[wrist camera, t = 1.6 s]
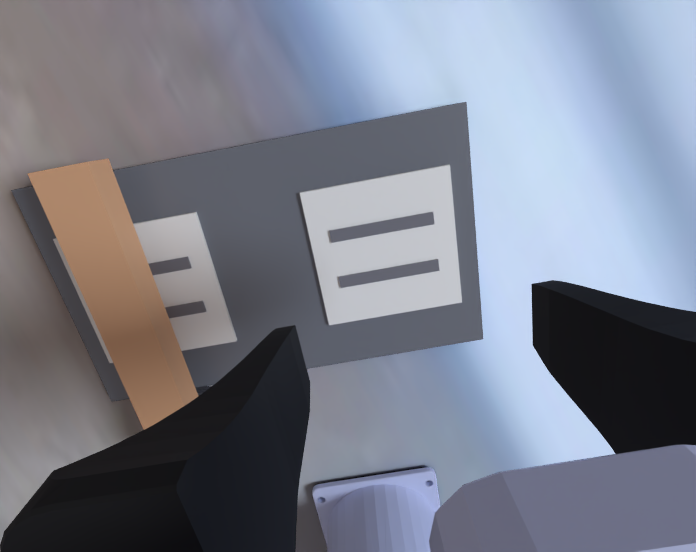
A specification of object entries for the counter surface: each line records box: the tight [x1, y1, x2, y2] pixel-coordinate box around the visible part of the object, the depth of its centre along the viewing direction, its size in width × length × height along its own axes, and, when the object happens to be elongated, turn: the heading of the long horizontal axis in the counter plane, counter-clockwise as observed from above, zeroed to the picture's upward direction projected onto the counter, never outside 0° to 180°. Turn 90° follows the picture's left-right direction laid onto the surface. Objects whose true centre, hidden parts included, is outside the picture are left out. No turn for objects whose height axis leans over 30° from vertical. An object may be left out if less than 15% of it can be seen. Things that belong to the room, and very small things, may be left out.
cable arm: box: [28, 159, 198, 430], centre depth 19 cm, size 16×3×2 cm, turn 10°
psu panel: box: [11, 102, 483, 401], centre depth 20 cm, size 12×21×1 cm, turn 100°
